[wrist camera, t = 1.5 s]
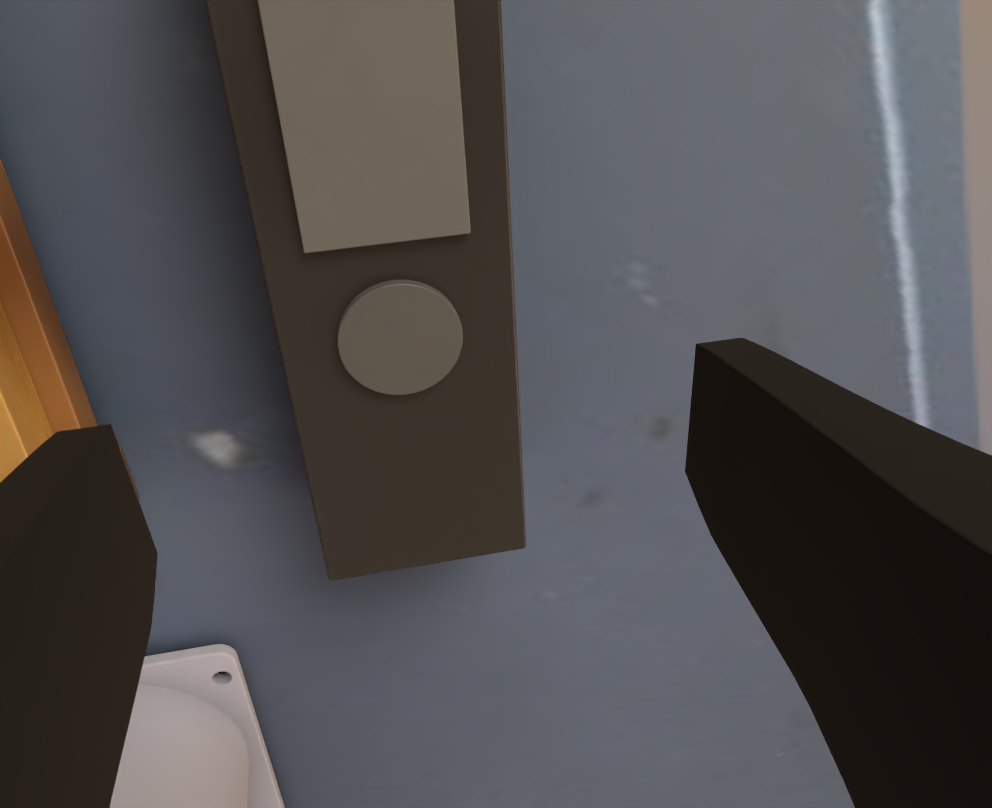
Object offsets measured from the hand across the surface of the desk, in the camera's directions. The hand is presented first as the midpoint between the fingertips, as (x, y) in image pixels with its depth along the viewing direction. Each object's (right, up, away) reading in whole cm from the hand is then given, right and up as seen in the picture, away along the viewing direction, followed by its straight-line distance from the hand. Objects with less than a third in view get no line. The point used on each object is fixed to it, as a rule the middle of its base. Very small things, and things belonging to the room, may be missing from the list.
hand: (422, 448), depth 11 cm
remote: (-2, +5, +8) cm, 10 cm away
